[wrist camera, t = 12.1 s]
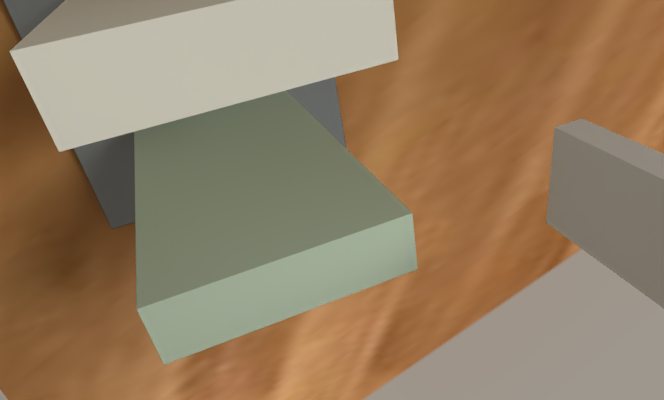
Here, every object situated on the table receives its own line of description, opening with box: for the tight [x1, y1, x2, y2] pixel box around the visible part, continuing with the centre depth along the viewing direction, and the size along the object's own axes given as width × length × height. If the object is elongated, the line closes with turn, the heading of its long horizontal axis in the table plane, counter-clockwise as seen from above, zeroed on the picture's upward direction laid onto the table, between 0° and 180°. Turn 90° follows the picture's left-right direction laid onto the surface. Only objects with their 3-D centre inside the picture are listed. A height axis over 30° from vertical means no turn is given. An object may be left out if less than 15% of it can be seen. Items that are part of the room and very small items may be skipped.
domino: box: [9, 0, 399, 152], centre depth 13 cm, size 2×6×12 cm, turn 100°
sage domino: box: [134, 90, 418, 365], centre depth 16 cm, size 2×6×12 cm, turn 100°
